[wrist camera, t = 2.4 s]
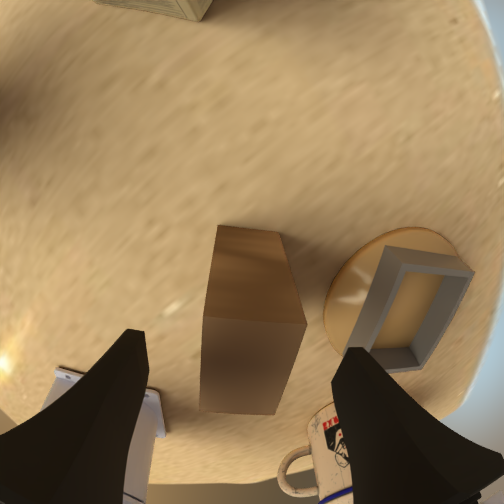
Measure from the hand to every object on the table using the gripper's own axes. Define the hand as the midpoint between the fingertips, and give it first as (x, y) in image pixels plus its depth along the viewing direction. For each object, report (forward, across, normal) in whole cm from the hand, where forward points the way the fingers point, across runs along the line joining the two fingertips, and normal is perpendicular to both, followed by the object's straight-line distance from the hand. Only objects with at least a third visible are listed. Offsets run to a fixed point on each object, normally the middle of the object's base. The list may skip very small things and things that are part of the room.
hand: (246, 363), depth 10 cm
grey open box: (+6, -10, +1) cm, 12 cm away
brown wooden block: (+6, 0, 0) cm, 6 cm away
